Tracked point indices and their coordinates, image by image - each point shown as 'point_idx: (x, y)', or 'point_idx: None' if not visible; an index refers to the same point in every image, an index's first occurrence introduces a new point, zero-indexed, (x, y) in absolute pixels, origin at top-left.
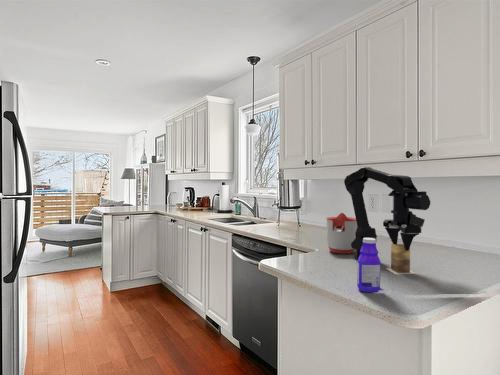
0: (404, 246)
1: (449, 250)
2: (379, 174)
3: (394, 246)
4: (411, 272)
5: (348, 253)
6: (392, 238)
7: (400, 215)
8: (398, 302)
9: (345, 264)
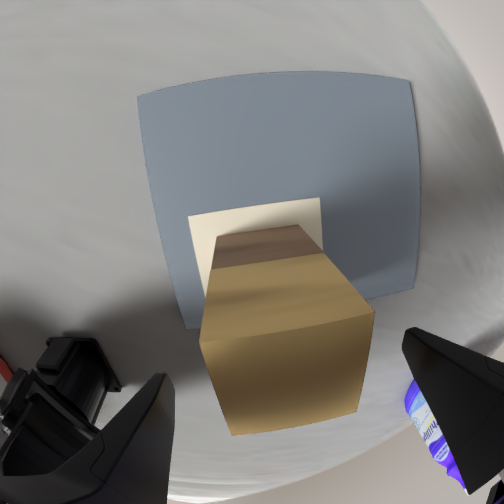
0: (424, 380)
1: None
2: None
3: (300, 419)
4: (294, 213)
5: (5, 364)
6: (165, 460)
7: None
8: (486, 331)
9: None
